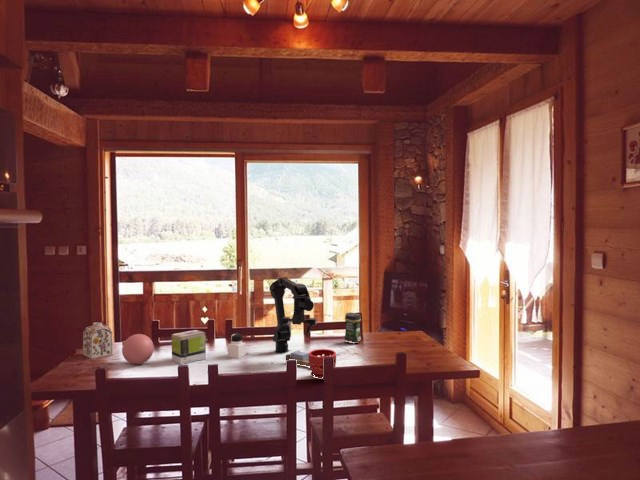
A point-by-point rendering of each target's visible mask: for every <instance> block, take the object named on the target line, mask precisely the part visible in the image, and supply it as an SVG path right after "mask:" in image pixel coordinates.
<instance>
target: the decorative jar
mask: <svg viewBox="0 0 640 480" xmlns="http://www.w3.org/2000/svg"><path fill="white" fill-rule="evenodd" d="M82 334H83V335H82V354H83V356H84V357H87V358H89V359H90V360H95V359H99V358H104V357H109V356H113V351H114V350H113V345H114V344H113V330H112V328H111V327H110V326H109V325H107V324H103V322H93V323H92V325H89V326H86V327H85V329H84V330H83V331H82Z"/></svg>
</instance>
